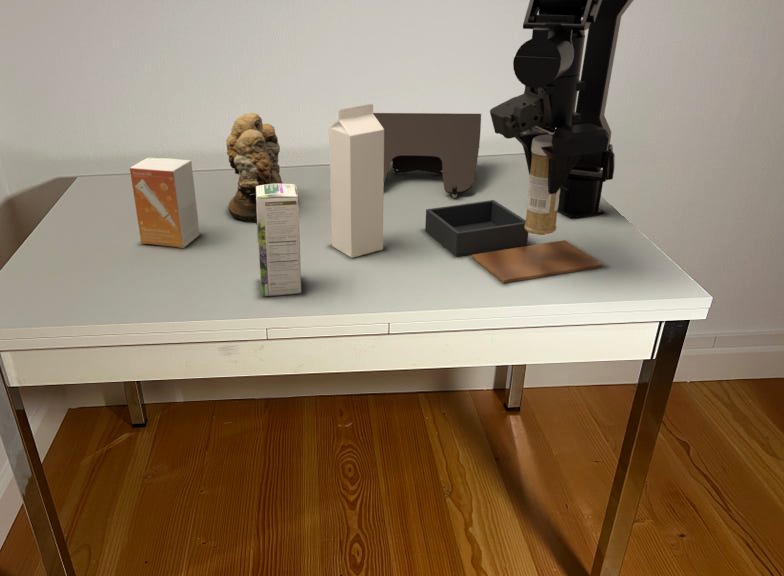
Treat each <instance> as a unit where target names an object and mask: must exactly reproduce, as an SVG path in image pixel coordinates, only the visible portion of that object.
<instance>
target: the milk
mask: <svg viewBox="0 0 784 576" xmlns="http://www.w3.org/2000/svg"><path fill="white" fill-rule="evenodd" d="M373 113H374V104H373V103H367V104H360V105H355V106H350V107H344V108H339V110H338V120H337V121H336V122H334V123H333V124H332V125H331V126H329V127H328V144H329V145H328V146H329V147H328V149H329V181H330V183H329V185H330V219H331V220H330V222H331V225H330V226H331V246H332V247H333V248H334V249H335V250H337V251H339V252H341V253H342V254H344V255H346V256H347V257H349V258H352V259H353V258H357V257H360V256H364V255H368V254H371V253H375V252H379V251H382V250H384V191H385V190H384V187H385V186H384V183H385V181H384V128H383V127H382V126H381V124H380V123H379V121H378V120H377V119H376V117H375V116H374V114H373Z"/></svg>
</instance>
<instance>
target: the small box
mask: <svg viewBox="0 0 784 576" xmlns="http://www.w3.org/2000/svg"><path fill="white" fill-rule="evenodd" d="M129 172H130V179H131V186H132V192H133V198H134V205H135V206H134V207H135V211H136V218H137V225H138V230H139V239H140V243H141V244H143V245H144V244H145V245H156V246H162V247H163V246H164V247H171V248H179V249H184V248H185V247H187V246H188V245H190V243H191V242H193V241H194V240H196V239H197V238H198V237H199V236H200V234H201V233H200V225H199V215H198V205H197V198H196V191H195V190H196V189H195V182H194V181H195V180H194V174H193V164H192V160H191V159H179V158H168V157H167V158H166V157H165V158H160V157H146V158H144V159H142V160H140V161H139V162H137V163H135V164H134V165H132V166H130V167H129Z"/></svg>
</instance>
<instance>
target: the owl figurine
mask: <svg viewBox="0 0 784 576" xmlns="http://www.w3.org/2000/svg"><path fill="white" fill-rule="evenodd" d="M230 129H231V130H230V131H231V132H230V134H229V135H228V136H227V138H226V140H225V141H226V144H225V145H226V155H227V156H228V163H229V166H230V168H231V169H233V170H234V174H235V175H239V178H238V181H237V190H236V192H235V195H234V196H233V197H232V198H231V199H230V201H229V203H228V212H229V213H230V215H231V216H232V217H233V218H235V219H240V220H241V221H245V220H257V205H256V186H260V185H266V184H284V183H283V180H282V176H281V174H280V173H281V172H280V169H281V168H280V164H279V154H280V151H281V147H280V144H279V139H278V138H279V137H278V136H277V134H276V129H275V126H274V125H272V124H270V123H263V119H262V117H261V116H260V115H259V113H256V112H250V113H244V114H242V115H241V116H239V117H237V118H236V119H235V120H234V122H233V125H232V127H231V128H230ZM251 195H254V196H251Z"/></svg>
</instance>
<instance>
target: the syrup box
mask: <svg viewBox="0 0 784 576" xmlns="http://www.w3.org/2000/svg"><path fill="white" fill-rule="evenodd" d="M255 195H256V205H257V219H256V231H257V232H256V233H257V234H256V235H257V248H258V249H257V250H258V261H259V262H258V263H259V264H258V265H259V276H260V277H259V278H260V288H261V289H260V292H261V296H262V297H272V296H287V295H297V294H302V270H301V269H302V267H301V246H300V245H301V241H300V239H301V238H300V212H299V195H298V188H297V185H296V184H294V183H283V184H266V185H260V186H256V194H255Z"/></svg>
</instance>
